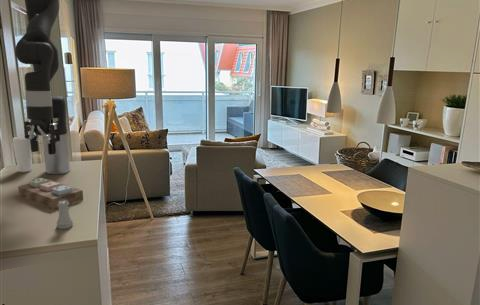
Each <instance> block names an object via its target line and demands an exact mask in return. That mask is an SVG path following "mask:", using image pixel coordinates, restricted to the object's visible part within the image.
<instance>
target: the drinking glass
mask: <svg viewBox="0 0 480 305" xmlns="http://www.w3.org/2000/svg"><path fill="white" fill-rule="evenodd" d="M12 147H13V152H14V156H15V162H16V166H17V171H18V173H27V172H28V173H29V172H31V171H32V170H33V165H32V154H33V152H32V151H31V145H30V141H29V140H28V139H26V138H25V135H23V136H16V137H12Z"/></svg>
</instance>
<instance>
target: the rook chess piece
mask: <svg viewBox="0 0 480 305" xmlns="http://www.w3.org/2000/svg"><path fill="white" fill-rule="evenodd" d="M69 205H70V204H69V202H68V201H67V200H66V201H65V200H63V201H62V200H60V201H58V204H57V206H58V207H59V208H57V210H58V212H59V213H58V218H57V221H56V228H57V229H59V230H67V229H70V228H72V227H73V225H74V222H73V221H74V220H73V219H72V217H71V216H70V213H69V212H70V211H69V209H70V207H69Z"/></svg>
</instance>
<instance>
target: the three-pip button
mask: <svg viewBox="0 0 480 305" xmlns="http://www.w3.org/2000/svg"><path fill="white" fill-rule="evenodd" d="M46 179H47V178H46ZM46 179H45V178H42V177H39V178H35V179H30V180H28V184H29V185H30V186H33V187H36V188H37V187H40V184H44V183H48V180H46Z"/></svg>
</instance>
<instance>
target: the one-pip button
mask: <svg viewBox="0 0 480 305" xmlns="http://www.w3.org/2000/svg"><path fill="white" fill-rule="evenodd" d="M56 182H57V181H56ZM56 182H48V183H44V184H40V188H41V190H44V191H47V192H48V191H52V188H55V187H59V186H60V185H59V183H60V182H59V183H56Z"/></svg>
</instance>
